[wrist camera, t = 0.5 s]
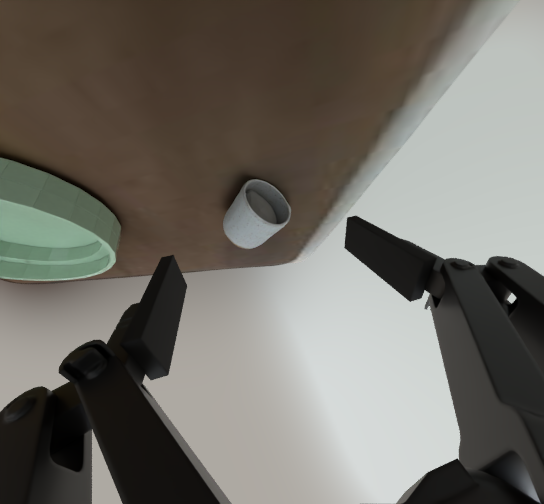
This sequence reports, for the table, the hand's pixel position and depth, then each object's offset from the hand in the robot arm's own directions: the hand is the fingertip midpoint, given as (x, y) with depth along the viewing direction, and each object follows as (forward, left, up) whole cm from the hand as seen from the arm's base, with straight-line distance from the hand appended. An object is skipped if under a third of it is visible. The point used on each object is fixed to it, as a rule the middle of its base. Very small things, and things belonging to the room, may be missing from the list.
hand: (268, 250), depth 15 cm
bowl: (+8, -28, -15) cm, 33 cm away
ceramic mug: (+10, +1, -15) cm, 18 cm away
